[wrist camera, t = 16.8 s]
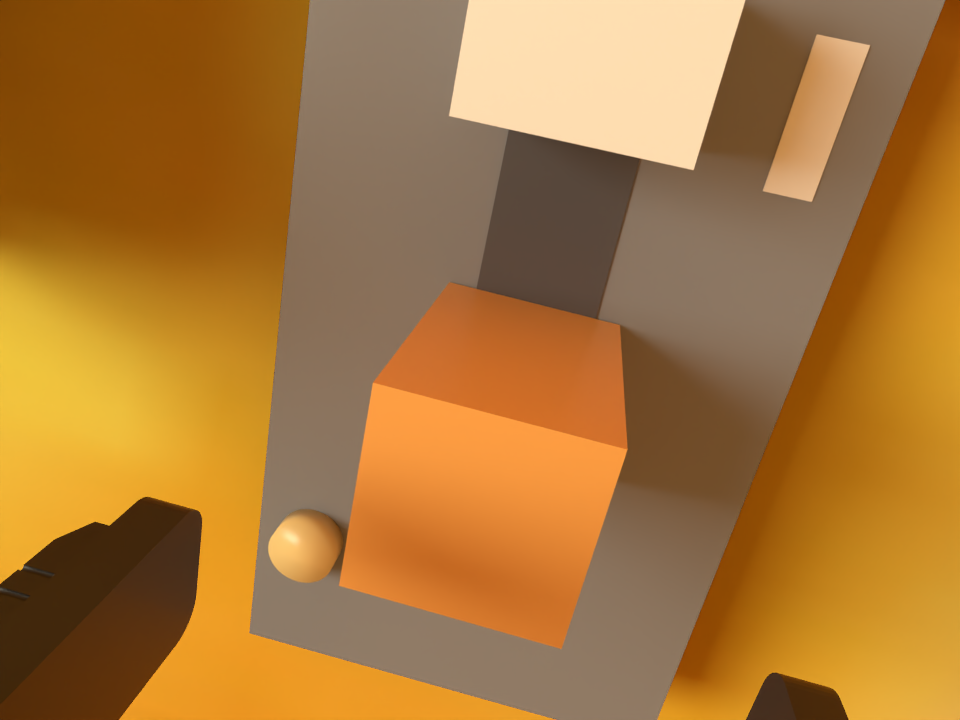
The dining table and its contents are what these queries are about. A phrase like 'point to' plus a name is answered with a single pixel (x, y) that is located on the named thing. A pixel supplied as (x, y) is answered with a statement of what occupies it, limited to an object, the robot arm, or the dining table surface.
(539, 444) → the cap
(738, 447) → the breaker panel
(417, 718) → the dining table surface
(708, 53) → the switch
